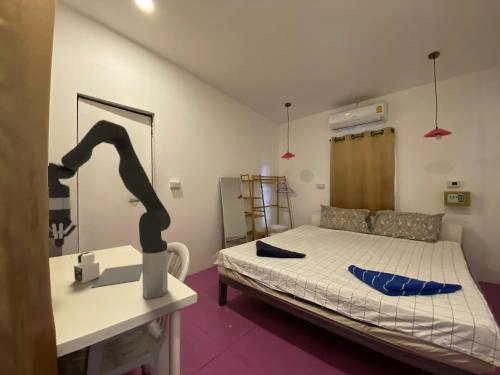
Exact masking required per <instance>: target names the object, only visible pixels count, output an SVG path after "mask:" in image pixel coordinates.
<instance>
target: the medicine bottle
mask: <svg viewBox="0 0 500 375" xmlns="http://www.w3.org/2000/svg"><path fill="white" fill-rule="evenodd" d="M95 259H96V258H95V253H94V252H92V251H88V252H82V253H80V254H79V255H77V263H78V264H74V266H73V269H74V270H73V274H74V281H75V282H78V283H81V284H85V283H87V282H90V281H93V280H97V279H98V278H99V277H100V275H101V272H100V262H99V261H95Z"/></svg>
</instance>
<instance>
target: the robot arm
mask: <svg viewBox="0 0 500 375" xmlns="http://www.w3.org/2000/svg"><path fill="white" fill-rule="evenodd" d="M103 143H104V144H109V145H113V147H114V148H115V149H116V151H117V153H118V156H119V163H118V174H119V177H120V179H121V181H122V183H123V185H124V187H125V188H126V190H127V191H128V192H129V193H131V195H133V196H134V197H135V198H136V199H137V200H138V201H139V202H140V203H141V204H142V205H143V207H144V209H145V210H146V212H143V213H142V214H141V215H140V218H139V219H138V220H139V221H138V234H139V235H138V236H139V244H140V246H141V249H142V252H141V253H142V255H141V256H142V259H141V260H142V261H141V264H142V272H141V274H142V297H143V298H145V300H151V299H155V298H160V297H164V296H165V294H167V293H168V287H169V285H168V284H169V283H168V282H169V280H168V277H169V276H168V275H169V274H168V271H169V270H168V242H167V241H166V240H163V239H162V238H163V237H162V232H164V231H166V230H168V229H169V227H170V225H171V217H170V214H169V211H168V210H167V209H166V207H165V206H164V204H163V203H162V201H161V199H160V198H159V197H158V194H157V193H156V190H155V189H154V186H153V185H152V183H151V181H150V179H149V177H148V175H147V173H146V171H145V169H144V167H143V164H142V163H141V161H140V159H139V157H138V155H137V153H136V151H135V149H134V147H133V144H132V141H131V138H130V135H129V133H128V131H127V129H126V127H125V126H124V125H122V124H119V123H116V122H114V121H112V120H108V119H100V120H98V121H97V122H95V124H94V125H92V127H91V128H90V129H89V130H88V132H87V133H86V134H85V135H84V136H83V137H82V139H81V140H80V141H79V143H77V145H76V146H74V147H73V148H72V149H71V150H70V151H68V152H67V153H66V154H65V155H63V156H62V157H61V159H60V161H61V163H60V162H48V163H49V166H48V186H47V188H48V200H49V237H48V238H50V239H54V246H55V247H56V248H62V247H63V246H64V245H65V238H66V237H69V236H70V235H71V234H73V232H74V231H75V230H76V229H77V227H78V224H75V223H74V222H73V221H72V218H71V217H72V214H71V213H72V212H71V209H72V208H71V207H72V205H71V189H70V188H71V187H70V186H69V185H68V184H64V183H62V182H61V181H60V180H68V179H69V180H70V179H71V178H73V177H75V175H76V174H77V172H78V171H79V169H80V168H81V167H83V165H85V164H86V163H88V161H89V160H90V159H91V157H92V156H93V152H94V149H95V147H97V146H98V145H101V144H103ZM68 228H69V229H68ZM67 229H68V230H67Z"/></svg>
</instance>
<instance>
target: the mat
mask: <svg viewBox="0 0 500 375" xmlns="http://www.w3.org/2000/svg"><path fill="white" fill-rule="evenodd" d="M141 274H142V263H138V264H129V265H123V266H115V267H107V268H104V269H103V271H102V272H101V273H100V277H98V278H96V279H95V282H94V283H93V284H92V286H91V287H90V288H91V289H93V288H99V287H107V286H112V285H118V284H124V283H133V282H138V281H140V279H141Z"/></svg>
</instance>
